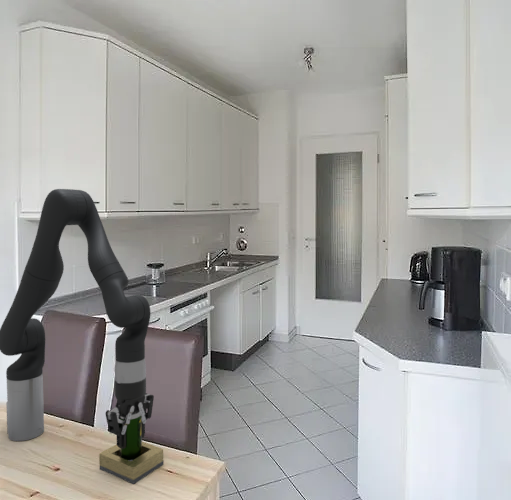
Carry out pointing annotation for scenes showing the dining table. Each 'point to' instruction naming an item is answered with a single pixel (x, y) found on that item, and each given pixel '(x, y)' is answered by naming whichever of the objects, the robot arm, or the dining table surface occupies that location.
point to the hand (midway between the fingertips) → (131, 442)
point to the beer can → (133, 437)
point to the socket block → (131, 463)
